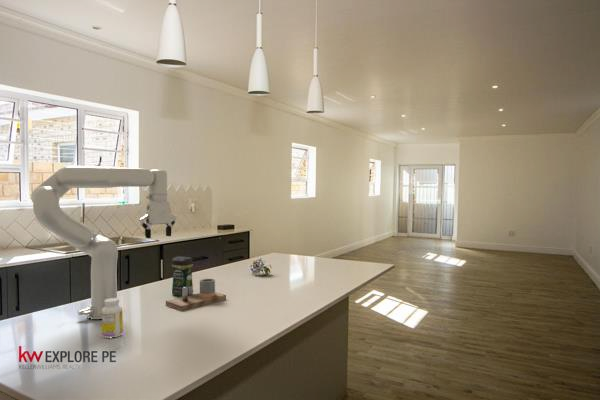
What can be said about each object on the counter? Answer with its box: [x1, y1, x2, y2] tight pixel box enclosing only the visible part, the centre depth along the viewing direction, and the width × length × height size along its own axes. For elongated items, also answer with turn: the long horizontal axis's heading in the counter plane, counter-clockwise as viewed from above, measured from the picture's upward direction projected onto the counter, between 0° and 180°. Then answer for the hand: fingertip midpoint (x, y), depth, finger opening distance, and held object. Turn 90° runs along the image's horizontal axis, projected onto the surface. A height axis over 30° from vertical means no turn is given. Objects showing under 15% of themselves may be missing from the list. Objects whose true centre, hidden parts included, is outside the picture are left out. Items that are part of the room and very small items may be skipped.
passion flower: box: [247, 257, 273, 277], centre depth 244 cm, size 11×11×12 cm
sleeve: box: [199, 278, 216, 297], centre depth 190 cm, size 7×7×7 cm
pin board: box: [165, 291, 227, 312], centre depth 186 cm, size 24×12×2 cm, turn 139°
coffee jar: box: [171, 256, 194, 297], centre depth 199 cm, size 10×8×19 cm
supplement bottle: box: [101, 297, 124, 339], centre depth 144 cm, size 7×7×13 cm
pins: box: [181, 287, 188, 301], centre depth 186 cm, size 14×2×6 cm, turn 139°
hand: (158, 237), depth 180 cm, fingers open, 9 cm apart
